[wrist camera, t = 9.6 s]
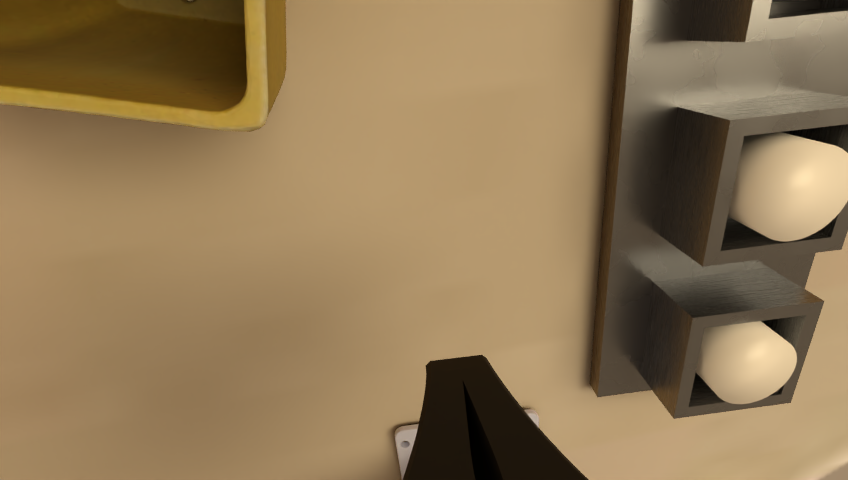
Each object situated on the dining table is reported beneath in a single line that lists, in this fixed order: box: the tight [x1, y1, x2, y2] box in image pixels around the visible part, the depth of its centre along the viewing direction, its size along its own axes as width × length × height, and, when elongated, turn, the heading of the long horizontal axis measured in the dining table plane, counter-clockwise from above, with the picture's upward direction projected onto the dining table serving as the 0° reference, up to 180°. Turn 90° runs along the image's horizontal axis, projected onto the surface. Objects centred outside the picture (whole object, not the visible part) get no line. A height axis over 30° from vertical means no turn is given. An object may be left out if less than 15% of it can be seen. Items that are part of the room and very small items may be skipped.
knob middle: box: [728, 132, 848, 241], centre depth 17 cm, size 4×4×4 cm
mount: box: [590, 0, 848, 419], centre depth 18 cm, size 24×10×4 cm, turn 5°
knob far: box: [696, 321, 797, 404], centre depth 21 cm, size 4×4×4 cm
